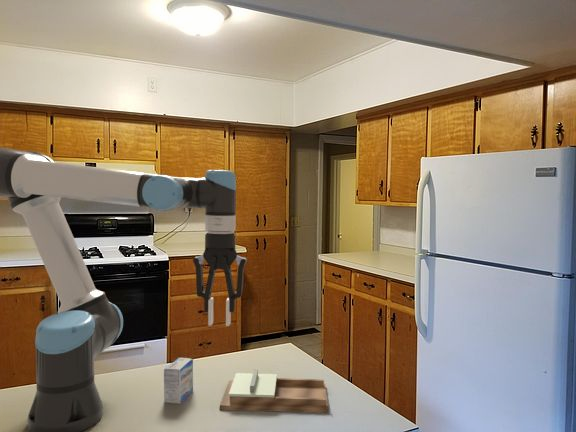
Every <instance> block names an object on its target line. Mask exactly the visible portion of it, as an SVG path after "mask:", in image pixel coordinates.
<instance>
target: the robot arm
mask: <svg viewBox="0 0 576 432" xmlns="http://www.w3.org/2000/svg"><path fill="white" fill-rule="evenodd" d="M236 177H237V176H236V174H235V172H234V171H232V170H226V169H225V170H223V169H218V170H217V169H208V170H206V171H205V175H204V177H198V178H197V177H196V178H195V177H179V176H171V175H170V174H169V175H168V174H156V173H155V174H154V173H144V172H141V171H139V172H138V171H131V170H123V169H115V168H114V169H112V168H107V167H106V168H105V167H99V166H98V167H97V166H88V165H80V164H79V165H78V164H73V163H65V162H64V163H63V162H55V161H54V160H53V159H52V158H51V157H49V156H47V155H45V154H42V153H40V152H37V151H33V150H32V151H30V150H19V149H13V148H7V147H0V199H7V201H8V202H9V205H10V207H11V209H12V212H15V213H16V214H19V215H21V216H22V218H23V219H24V221H25V224H26V227H27V228H28V231H29V233H30V235H31V237H32V241H33V242H34V245H35V247H36V249H37V252H38V254H39V256H40V258H41V260H42V263H43V266H44V268H45V270H46V272H47V274H48V277H49V279H50V281H51V284H52V286H53V288H54V290H55V292H56V296H57V297H58V300H59V302H60V307H58V308H59V309H58V311H57V313H54V314H51V315H49V316H47V317H45V318H43V320H41V321H40V322H39V324H38V325H37V327H36V331H35V333H36V334H35V339H34V346H35V367H36V368H35V377H36V392H35V395H34V397H33V401H32V404H31V407H30V409H29V413H28V415H27V430H28V431H29V432H84V431H85V430H88V429H90V428H92V427H93V426H94V425H95V424H97V423H98V422H99V421H100V420H101V419H102V417H103V414H104V412H103V409H104V407H103V405H104V404H103V401H102V399H101V396H100V392H99V391H98V388H97V386H96V382H95V358H97V357H98V356H99V355H100V354H101V353H103V352H104V351H105V350H107V349H108V348H110V347H111V346H112V345H113V344H114V343H115V342H116V340H117V339H118V338H119V336H120V335H121V333H122V331H123V327H124V317H123V313H122V312H121V309H120V308H119V307H118V306H117V305H116V304H114V303H112V302H110V301H109V299H108V298H107V295H106V292H105V291H102V290H100V289H97V288H96V286H95V284H94V281H93V279H92V277H91V274H90V272H89V270H88V267H87V265H86V262H85V260H84V258H83V256H82V253H81V252H80V249H79V246H78V243H77V242H76V241H75V237H74V234H73V233H72V230H71V228H70V225H69V224H68V222H67V219H66V216H65V214H64V213H63V210H62V207H61V205H60V202H61V199H63V198H64V199H65V198H66V199H71V200H73V199H74V200H80V201H90V202H97V203H104V204H105V203H107V204H114V205H115V204H116V205H124V206H132V207H142V208H146V209H147V208H148V209H153V210H156V211H162V212H163V211H164V212H167V211H172V210H177V209H205V217H204V219H205V220H204V221H205V222H204V225H205V226H204V227H205V229H204V230H205V231H206V233H204V238H205V239H204V251H203V253H202V255H199V256H195V257H194V258H192V261H193V264H194V266H195V278H196V280H195V282H196V296H197V297H200V298H202V299H204V304H203V306H204V307H203V310H204V312H207V313H208V314H207V315H208V316H207V317H208V321H207V322H208V323H207V326H209V327H210V326H212V325H213V324H214V298H215V297H211V296H212V291H213V286H214V280H215V276H216V271H217V270H223V273H224V277H225V283H226V288H227V295H228V297H227V298H226V301H225V327H229V326H231V323H232V321H231V320H232V319H231V318H232V317H231V316H232V315H231V313H234V311H235V309H236V299H238V298H239V299H240V298H241V296H243V289H244V276H245V275H244V274H245V273H244V272H245V266H246V263H247V261H248V258H246V257H242V256H240V255H238V253H237V250H236V234H235V233H234V232H235V231H236V227H237V226H236V223H237V222H236V221H237V217H236V216H237V215H236V211H237V210H236V208H237V207H236V206H237V183H236ZM204 261H205V262H206V263H207V264H208V266H209V269H208V273H207V274H208V275H207V280H206V281H207V282H206V285H205V290H204V269H203V268H204V267H203V264H204V263H205V262H204ZM235 261H236V265H237V267H238V268H237V278H236V291H235V286H234V280H233V276H232V268H231V266H232V265H233V263H234V262H235Z"/></svg>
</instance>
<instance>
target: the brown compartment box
mask: <svg viewBox="0 0 576 432" xmlns="http://www.w3.org/2000/svg"><path fill="white" fill-rule="evenodd" d="M232 383H233V380H228V382H227V385H226V387H225V390H224V393H223V396H222V398H221V401H220V404H219V410H224V411H225V410H229V411H256V412H257V411H259V412H260V411H262V412H287V413H288V412H291V413H292V412H293V413H294V412H295V413H323V414H324V413H325V414H328V413H329V404H328V403H329V402H328V396H327V395H328V394H327V387H326V383H325V379H324V378H323V379H319V378H318V379H317V378H289V377H287V378H286V377H285V378H284V377H277V380H276V388H275V395H274V398H269V397H236V396H229V392H230V389H231V386H232Z"/></svg>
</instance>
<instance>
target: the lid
mask: <svg viewBox="0 0 576 432" xmlns="http://www.w3.org/2000/svg"><path fill="white" fill-rule="evenodd" d="M277 378H278V374H277V373H259V369H254V370H253V373H251V372H250V373H248V372H247V373H246V372H245V373H244V372H236V373H235V375H234V378H233V380H232V381H233V383H232V386H231V389H230V392H229V396H236V397H269V398H274V395H275V388H276V380H277Z"/></svg>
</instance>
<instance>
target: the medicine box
mask: <svg viewBox="0 0 576 432" xmlns="http://www.w3.org/2000/svg"><path fill="white" fill-rule="evenodd" d="M193 390H194V359H193V358H188V357H177V359H175V360H174V361H173V362H171V363H170V364H169V365H168V366H166V367H165V368H164V369H163V402H164V403H168V404H178V405H181V404H182V403H183V402H184V401H185V399H187V398H188V396H189V395H191V393H192V392H193Z"/></svg>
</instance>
